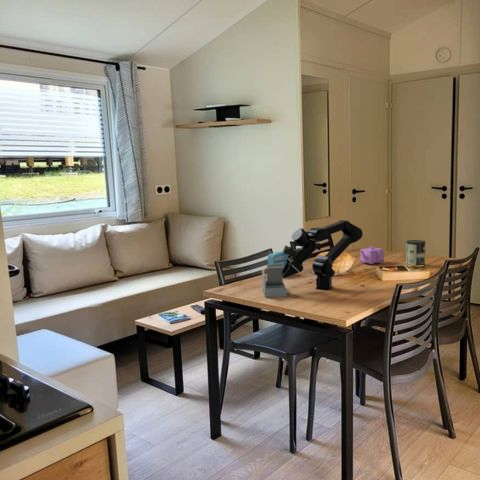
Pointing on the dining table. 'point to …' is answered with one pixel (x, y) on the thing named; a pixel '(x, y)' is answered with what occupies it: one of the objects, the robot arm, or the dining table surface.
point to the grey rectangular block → (274, 275)
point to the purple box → (372, 255)
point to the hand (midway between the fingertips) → (282, 275)
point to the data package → (277, 259)
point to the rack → (272, 288)
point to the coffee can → (415, 252)
